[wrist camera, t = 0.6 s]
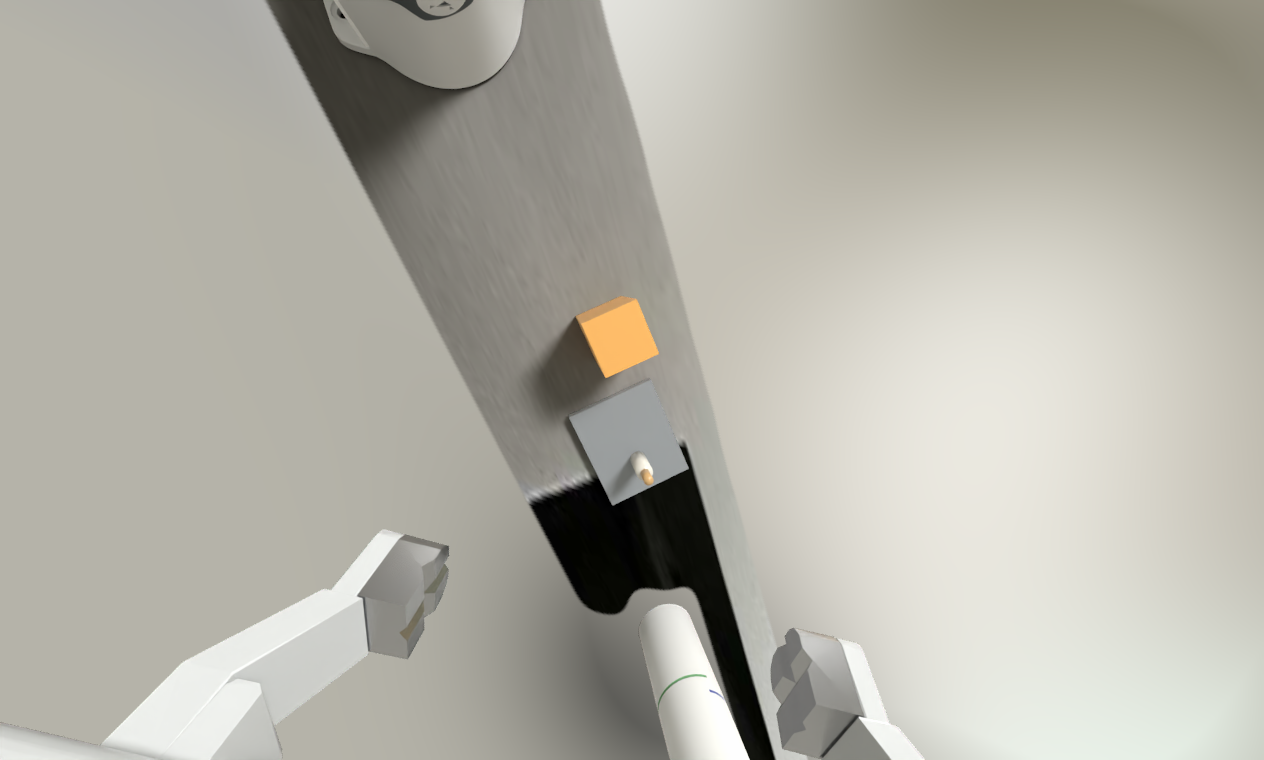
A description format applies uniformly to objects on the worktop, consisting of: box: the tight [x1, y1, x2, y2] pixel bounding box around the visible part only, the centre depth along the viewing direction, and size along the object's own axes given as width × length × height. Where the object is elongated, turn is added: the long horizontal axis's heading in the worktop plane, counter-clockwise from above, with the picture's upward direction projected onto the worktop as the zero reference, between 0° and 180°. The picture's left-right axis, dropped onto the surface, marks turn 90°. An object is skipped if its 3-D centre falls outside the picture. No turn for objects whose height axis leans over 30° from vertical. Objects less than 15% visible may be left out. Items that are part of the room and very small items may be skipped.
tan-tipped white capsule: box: [630, 451, 654, 486], centre depth 48 cm, size 2×2×6 cm
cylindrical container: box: [639, 604, 749, 760], centre depth 46 cm, size 7×7×25 cm
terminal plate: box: [569, 378, 689, 505], centre depth 51 cm, size 12×10×1 cm
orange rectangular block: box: [575, 296, 659, 378], centre depth 44 cm, size 5×5×9 cm
